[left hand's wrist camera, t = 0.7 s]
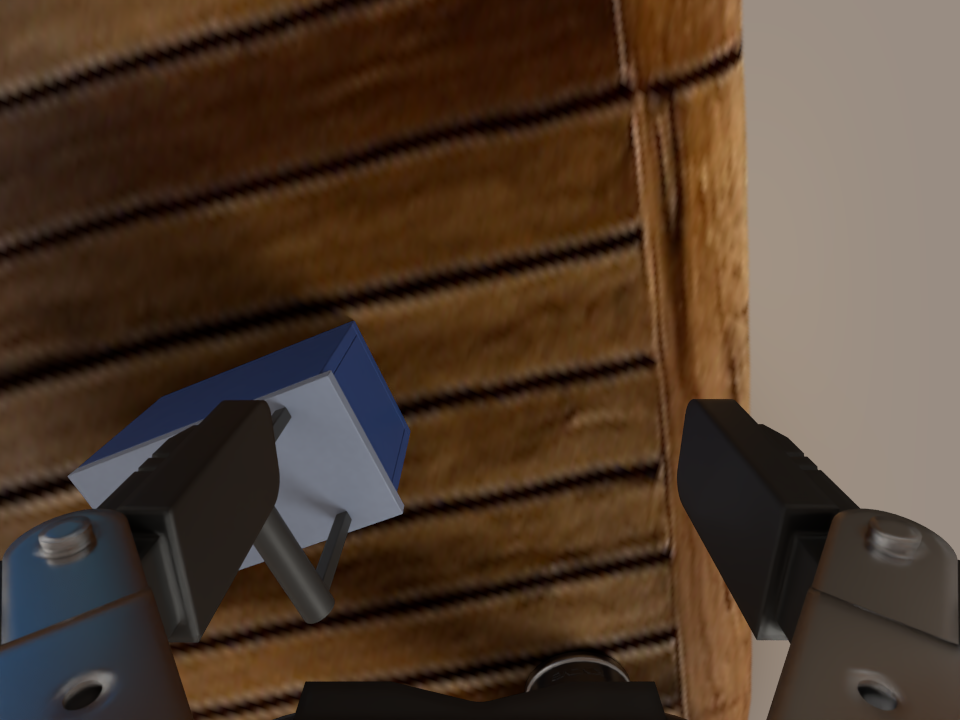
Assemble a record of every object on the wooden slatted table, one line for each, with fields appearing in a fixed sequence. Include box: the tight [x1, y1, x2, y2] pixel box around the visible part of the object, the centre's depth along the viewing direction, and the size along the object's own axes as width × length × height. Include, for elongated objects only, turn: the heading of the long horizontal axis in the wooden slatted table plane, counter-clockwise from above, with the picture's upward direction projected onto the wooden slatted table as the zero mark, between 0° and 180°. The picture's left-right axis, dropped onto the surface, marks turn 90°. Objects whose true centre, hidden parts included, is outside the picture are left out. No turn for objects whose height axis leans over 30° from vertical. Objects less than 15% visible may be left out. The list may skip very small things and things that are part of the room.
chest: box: [79, 321, 410, 491], centre depth 37 cm, size 15×9×9 cm, turn 112°
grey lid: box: [68, 370, 404, 623], centre depth 29 cm, size 16×9×8 cm, turn 112°
